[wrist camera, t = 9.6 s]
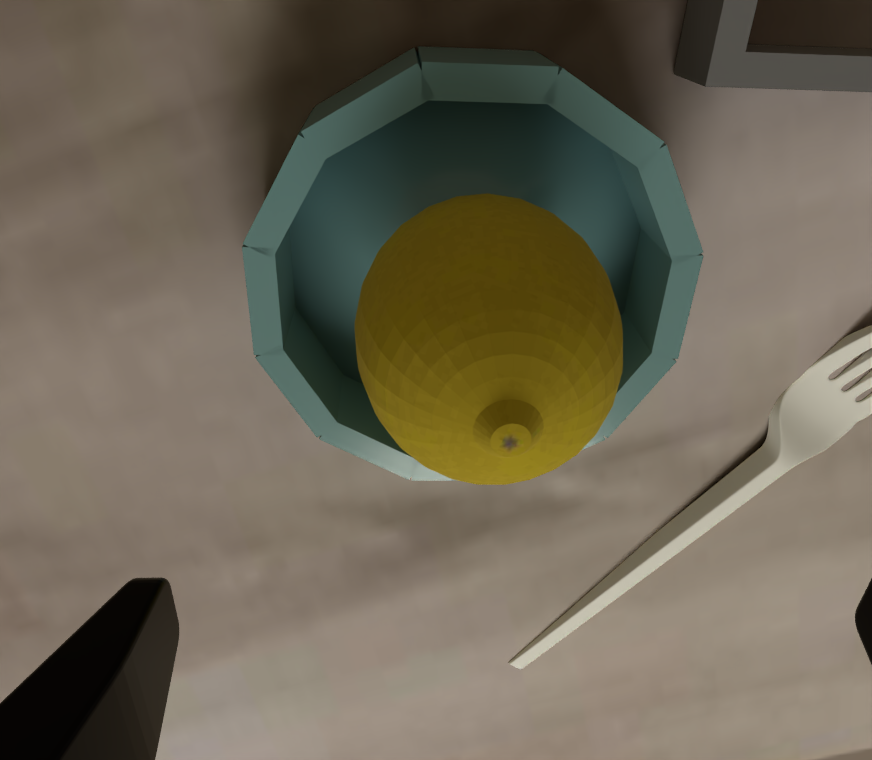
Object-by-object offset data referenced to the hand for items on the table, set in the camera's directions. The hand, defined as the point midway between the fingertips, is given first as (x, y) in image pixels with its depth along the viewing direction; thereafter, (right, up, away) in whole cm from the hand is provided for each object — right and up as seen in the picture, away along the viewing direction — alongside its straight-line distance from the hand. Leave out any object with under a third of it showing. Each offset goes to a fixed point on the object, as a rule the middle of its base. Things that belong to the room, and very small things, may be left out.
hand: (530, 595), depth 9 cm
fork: (+8, -2, +16) cm, 18 cm away
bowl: (0, +6, +10) cm, 12 cm away
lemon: (0, +6, +10) cm, 11 cm away
